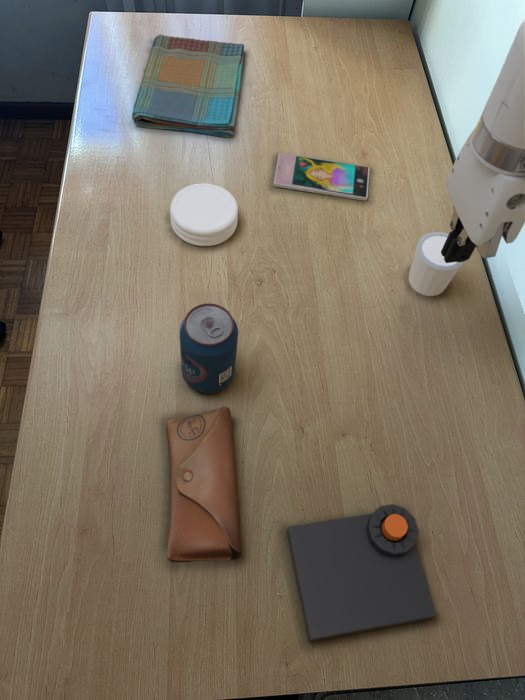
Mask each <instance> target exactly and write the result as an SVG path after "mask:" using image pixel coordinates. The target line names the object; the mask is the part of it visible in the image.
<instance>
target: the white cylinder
mask: <svg viewBox="0 0 525 700" xmlns="http://www.w3.org/2000/svg"><path fill="white" fill-rule="evenodd" d="M448 235H449V233H446V232H440V231H433V232H428V233H426V234H424V235H423V236H421V237H420V239H419V241H418V242H417V245H416V247H415V251H414V253H413V254H414V255H413V258H412V262H411V266H410V269H409V273H408V282H409V284H410V287H411V288H412V289H413V290H414V291H415V292H417V293H418V294H420V295H422V296H427V297H434V296H435V297H436V296H439V295H441V294H442V293H443V292H444V291H445V290H446V288H447V287H448V286H449V284H450V283H451V281H452V280H453V278H454V277H455V276H456V274H457V273H458V272H459V270H460V269H461V267H462V266H463V264H464V262H451V263H445V260H444V256H442V254H441V250H442V248H443V246H444V244H445V242H446V239H447V237H448Z"/></svg>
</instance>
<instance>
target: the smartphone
mask: <svg viewBox="0 0 525 700" xmlns="http://www.w3.org/2000/svg"><path fill="white" fill-rule="evenodd" d="M369 181H370V167H369V166H366V165H359V164H355V163H354V164H353V163H349V162H348V163H347V162H341V161H335V160H328V159H322V158H316V157H309V156H303V155H297V154H291V153H284V152H278V156H277V161H276V167H275V173H274V178H273V184H272V185H273V187H275V188H282V189H287V190H295V191H301V192H306V193H307V192H308V193H314V194H320V195H325V196H326V195H327V196H332V197H339V198H345V199H351V200H358V201H365V202H366V201H367V200H368V196H369V184H370V183H369Z"/></svg>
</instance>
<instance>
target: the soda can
mask: <svg viewBox="0 0 525 700" xmlns="http://www.w3.org/2000/svg"><path fill="white" fill-rule="evenodd" d="M238 340H239V328H238V324H237V322H236V321H235V318H234V317H233V316H232V314H231V313H230V311H229V310H227V309H226V308H225V307H224V306H222V305H219V304H217V303H210V302H209V303H201V304H199V305H196V306H194V307H193V308H191V309H190V310H189V311H188V312H187V314H186V316H185V317H184V318H183V320H182V321H181V322H180V326H179V348H180V368H181V375H182V378H183V381H185V383H186V384H187V385H188V386H189V387H190V388H191V389H194V390H195V391H197V392H200V393H204V394H205V393H208V394H209V393H210V394H211V393H217V392H220V391H222V390H224V389H225V388H227V387H228V386H229V385H230V384H231V383H232V381H233V380H234V377H235V375H236V368H237V367H236V365H237V352H238Z"/></svg>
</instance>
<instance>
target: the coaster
mask: <svg viewBox="0 0 525 700" xmlns="http://www.w3.org/2000/svg"><path fill="white" fill-rule="evenodd" d="M238 206H239V205H238V202H237V201H236V199H235V197H234V196H233V194H232V193H231V192H229V191H228V190H227V189H226V188H224V187H222V186H219V185H216V184H212V183H204V182H203V183H194V184H190V185H187V186H184V187H183V188H181V189H180V190H178V192H176V193H175V194H174V196H173V197H172V200H171V202H170V205H169V213H170V215H169V216H170V226H171V228H172V230H173V232H174V234H176V236H177V237H178V238H179V239H180V240H182V241H184V242H185V243H188V244H190V245H194V246H199V247H212V246H216V245H220V244H221V243H224V242H226V241H227V240H228V239H230V237H231V236H233V234H234V233H235V231H236V230H237V226H238V217H239V207H238Z"/></svg>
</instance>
